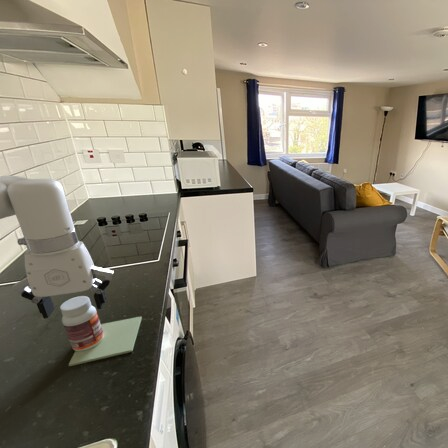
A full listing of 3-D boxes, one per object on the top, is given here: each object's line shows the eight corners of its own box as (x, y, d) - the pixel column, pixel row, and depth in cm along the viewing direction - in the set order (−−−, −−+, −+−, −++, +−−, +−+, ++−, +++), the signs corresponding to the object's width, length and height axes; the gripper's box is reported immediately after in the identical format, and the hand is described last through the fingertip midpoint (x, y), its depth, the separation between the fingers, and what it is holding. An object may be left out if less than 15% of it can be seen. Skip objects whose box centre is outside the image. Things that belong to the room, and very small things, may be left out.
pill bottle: (104, 344, 62) (92, 304, 58) (71, 356, 58) (55, 315, 54) (104, 328, 66) (92, 291, 62) (73, 339, 63) (58, 300, 59)
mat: (69, 366, 57) (68, 364, 56) (88, 328, 67) (88, 326, 67) (132, 351, 61) (131, 349, 60) (141, 318, 71) (141, 316, 71)
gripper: (-17, 254, 47) (16, 330, 53) (98, 243, 52) (116, 312, 59) (9, 238, 53) (36, 307, 59) (109, 229, 59) (124, 293, 65)
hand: (76, 309), depth 59 cm, fingers open, 9 cm apart
